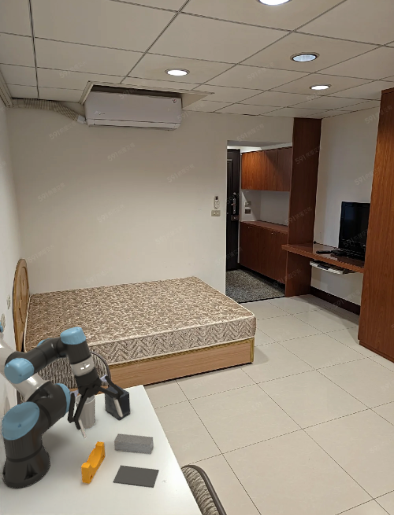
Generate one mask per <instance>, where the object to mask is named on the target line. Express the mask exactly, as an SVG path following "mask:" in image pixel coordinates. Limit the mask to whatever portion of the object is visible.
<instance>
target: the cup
mask: <svg viewBox="0 0 394 515" xmlns="http://www.w3.org/2000/svg"><path fill="white" fill-rule="evenodd" d="M80 397H81V394H79V395H77V397H76V398H75V399H76V401H75V408H77V406H78V404H79V401H80ZM79 418H80V419H81V422H82V425H83V427H84V430H86V429H90V428H92V427H94V426H95V424H96V395H93V396H92V397H90V398H87V400H86V402H85V404H84V406H83V409H82V412H81V414H80V417H79Z"/></svg>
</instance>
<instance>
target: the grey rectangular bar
mask: <svg viewBox="0 0 394 515" xmlns="http://www.w3.org/2000/svg"><path fill="white" fill-rule="evenodd" d="M113 446H114V447H113V448H114V451H121V452H128V453H129V452H130V453H136V454H137V453H139V454H148V455H151V454H152V451H153V448H154V437H153V436H145V435H144V436H143V435H135V434H127V433H117V435H116V436H115V438H114V441H113Z"/></svg>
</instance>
